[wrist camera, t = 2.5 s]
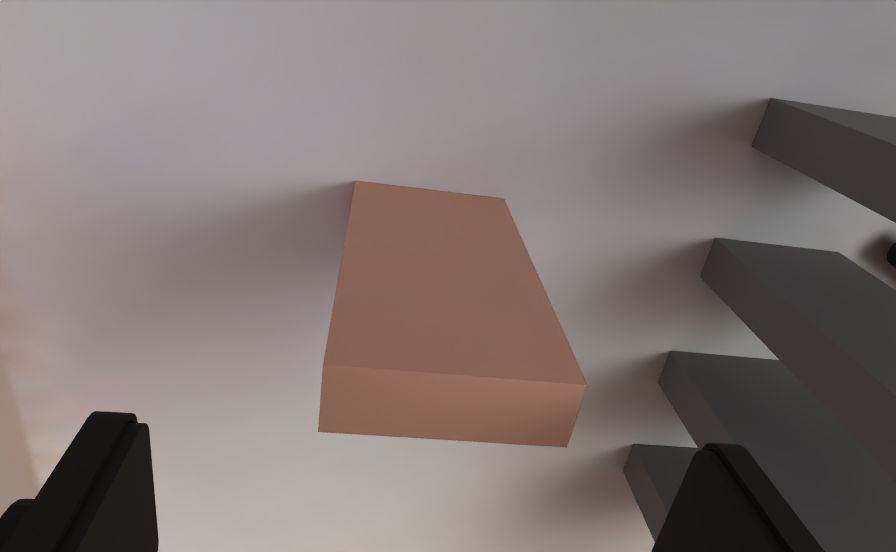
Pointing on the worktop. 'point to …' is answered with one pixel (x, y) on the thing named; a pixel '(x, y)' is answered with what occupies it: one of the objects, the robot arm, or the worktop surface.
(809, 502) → the domino
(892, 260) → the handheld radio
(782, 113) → the domino
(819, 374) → the domino
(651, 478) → the domino
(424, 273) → the domino
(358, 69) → the worktop surface
